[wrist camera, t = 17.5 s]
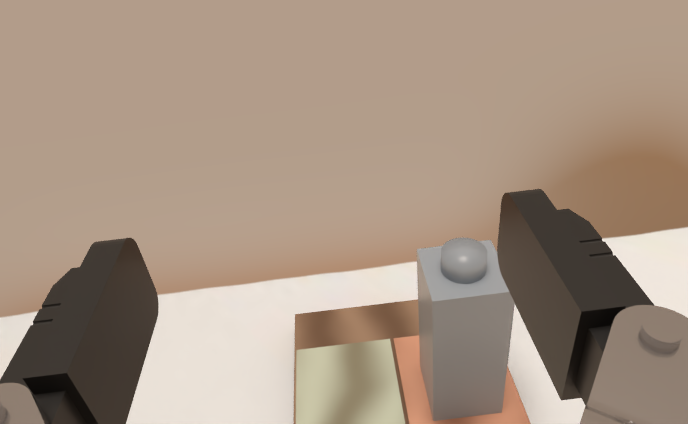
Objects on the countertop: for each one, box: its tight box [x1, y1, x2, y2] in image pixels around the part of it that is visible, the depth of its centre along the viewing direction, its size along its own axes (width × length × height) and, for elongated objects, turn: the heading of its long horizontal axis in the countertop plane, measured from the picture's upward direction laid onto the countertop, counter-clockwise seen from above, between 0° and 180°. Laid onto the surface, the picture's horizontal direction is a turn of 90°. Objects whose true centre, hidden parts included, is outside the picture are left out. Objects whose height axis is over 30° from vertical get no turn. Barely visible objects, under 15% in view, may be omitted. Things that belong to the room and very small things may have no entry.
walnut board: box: [294, 300, 530, 424], centre depth 41 cm, size 17×20×2 cm
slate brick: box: [417, 238, 515, 421], centre depth 36 cm, size 5×5×13 cm
